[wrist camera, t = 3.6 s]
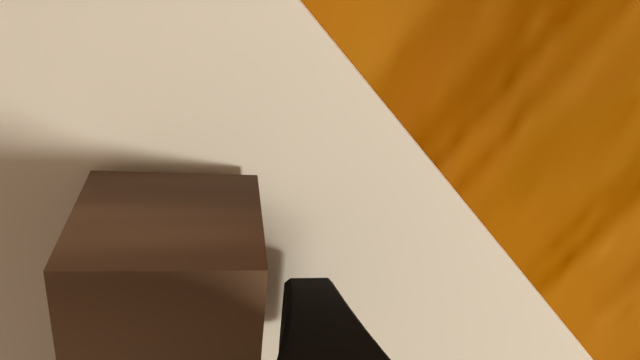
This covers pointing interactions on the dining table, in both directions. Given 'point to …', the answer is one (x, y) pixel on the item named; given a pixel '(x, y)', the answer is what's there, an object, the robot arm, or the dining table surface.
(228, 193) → the leg
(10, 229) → the seat board
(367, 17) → the dining table surface
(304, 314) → the robot arm
